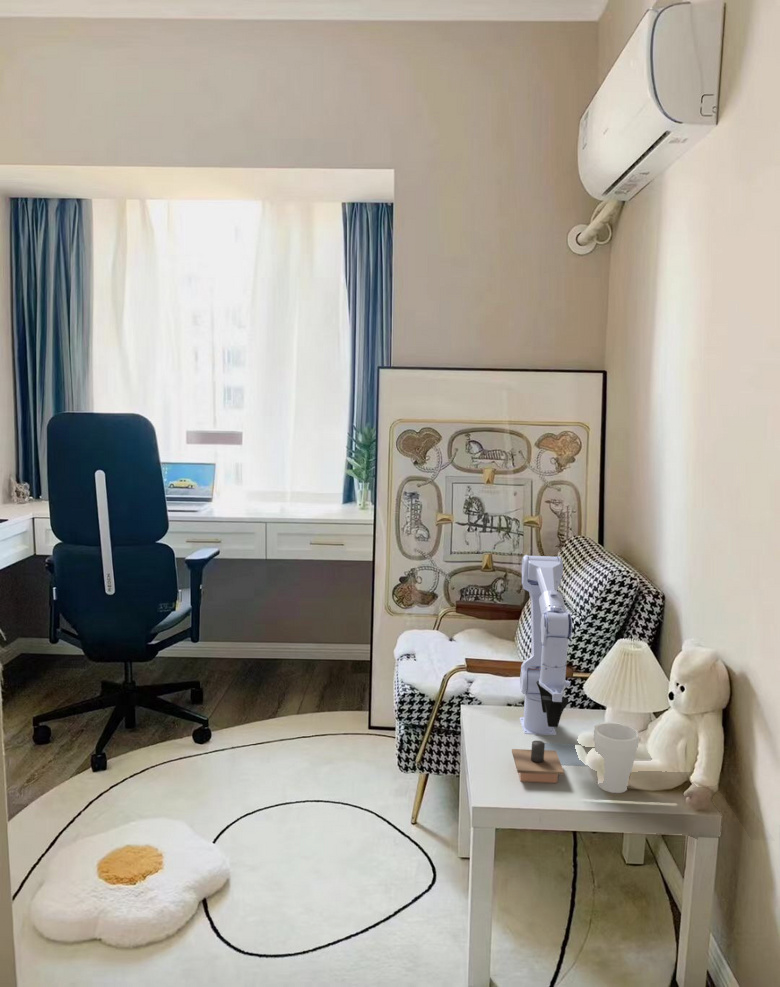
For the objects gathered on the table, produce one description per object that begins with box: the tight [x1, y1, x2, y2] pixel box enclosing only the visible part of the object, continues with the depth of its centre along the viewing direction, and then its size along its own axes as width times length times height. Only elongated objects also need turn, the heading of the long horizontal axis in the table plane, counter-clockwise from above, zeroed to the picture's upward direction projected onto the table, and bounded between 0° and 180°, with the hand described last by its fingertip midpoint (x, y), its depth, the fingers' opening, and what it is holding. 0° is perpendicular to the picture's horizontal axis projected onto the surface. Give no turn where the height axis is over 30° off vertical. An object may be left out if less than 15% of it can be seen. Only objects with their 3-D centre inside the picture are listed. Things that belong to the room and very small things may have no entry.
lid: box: [511, 739, 565, 776], centre depth 183 cm, size 10×10×5 cm
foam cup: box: [593, 721, 640, 794], centre depth 178 cm, size 10×9×13 cm
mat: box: [544, 742, 586, 767], centre depth 193 cm, size 11×11×1 cm
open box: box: [517, 772, 559, 784], centre depth 183 cm, size 8×8×3 cm
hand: (549, 719), depth 191 cm, fingers open, 7 cm apart
